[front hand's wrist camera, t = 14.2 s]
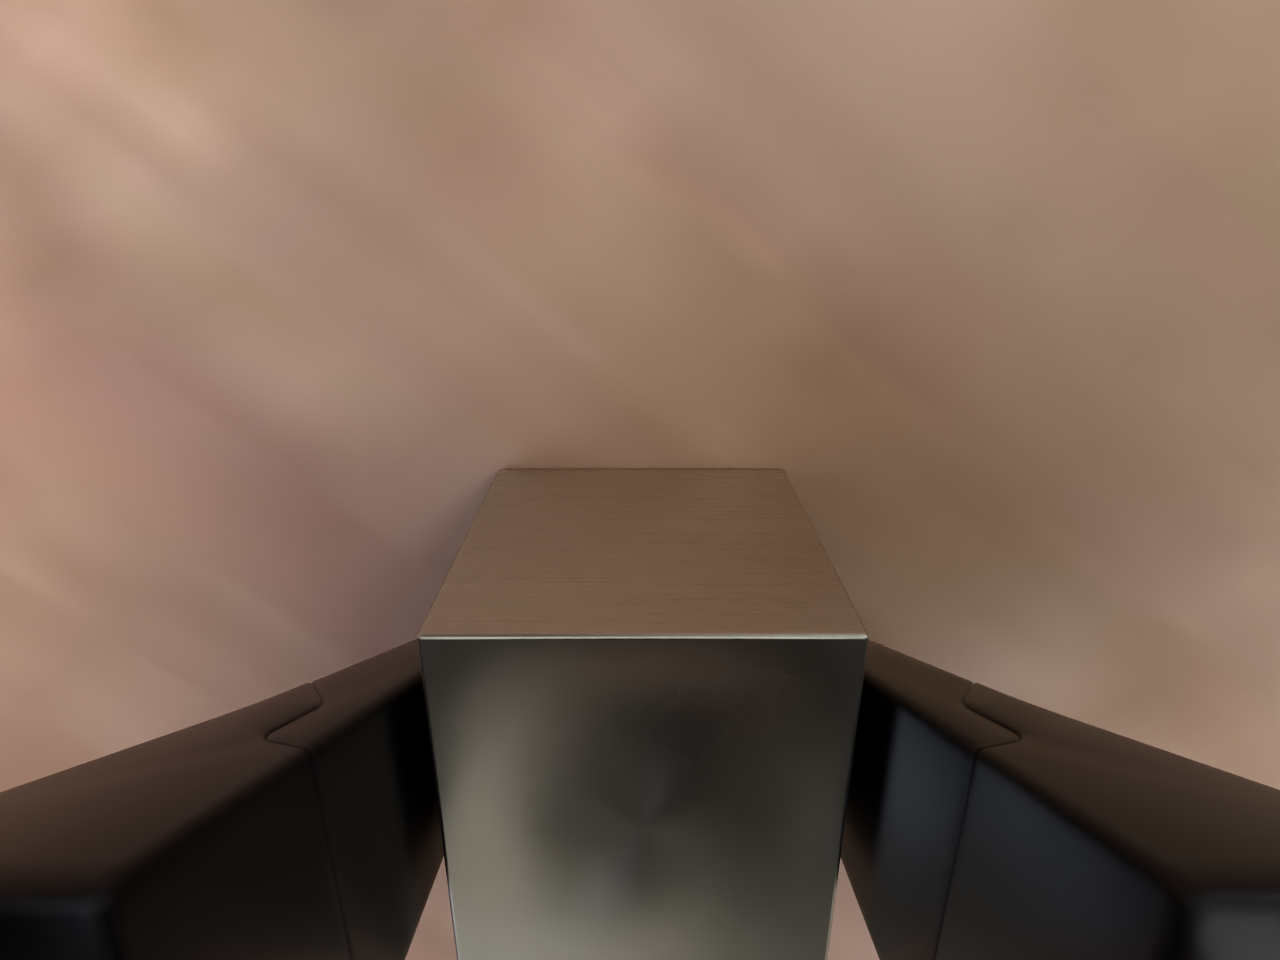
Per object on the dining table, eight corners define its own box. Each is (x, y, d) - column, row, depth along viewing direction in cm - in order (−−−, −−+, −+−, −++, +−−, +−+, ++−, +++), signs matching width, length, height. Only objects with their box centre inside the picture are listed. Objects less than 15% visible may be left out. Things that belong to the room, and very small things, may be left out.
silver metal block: (498, 467, 12) (414, 635, 7) (784, 467, 12) (870, 635, 7) (517, 726, 14) (458, 985, 9) (765, 726, 14) (825, 984, 9)
